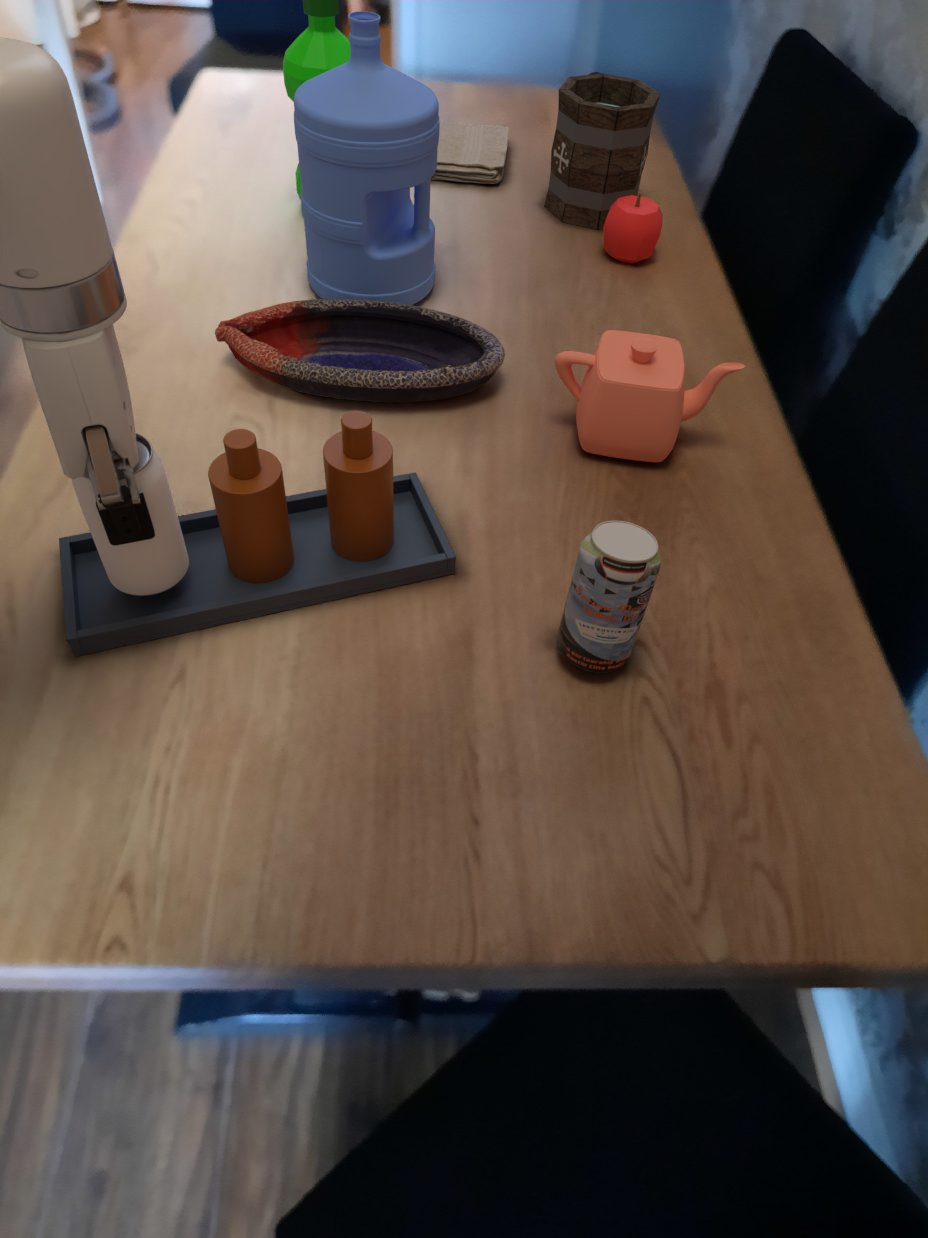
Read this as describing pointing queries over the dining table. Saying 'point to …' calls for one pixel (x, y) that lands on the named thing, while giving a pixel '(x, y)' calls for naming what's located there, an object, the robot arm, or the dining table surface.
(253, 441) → the amber bottle
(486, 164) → the washcloth
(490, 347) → the dish
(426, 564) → the tray
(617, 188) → the mug
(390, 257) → the water jug
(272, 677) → the dining table surface
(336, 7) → the plastic bottle
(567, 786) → the dining table surface
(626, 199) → the apple
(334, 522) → the amber bottle
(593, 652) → the beverage can
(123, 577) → the can
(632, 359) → the teapot
